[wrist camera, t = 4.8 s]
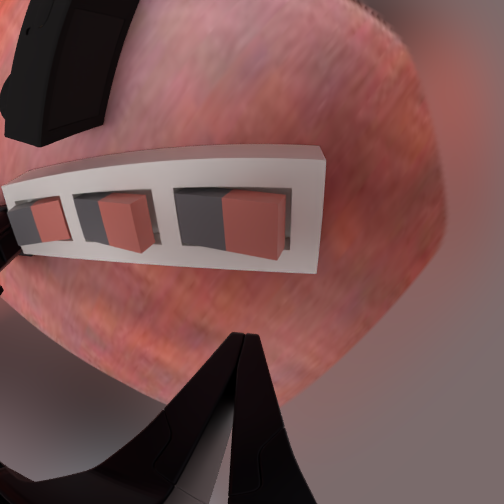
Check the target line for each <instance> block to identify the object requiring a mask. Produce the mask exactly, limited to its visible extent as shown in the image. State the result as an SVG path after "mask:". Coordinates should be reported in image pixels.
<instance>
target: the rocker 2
mask: <svg viewBox="0 0 504 504" xmlns="http://www.w3.org/2000/svg"><path fill="white" fill-rule="evenodd" d="M73 200H74V204H75V208H76V211H77V215H78V219H79V222H80V225H81V229H82V232H83V235H84V238H85V239H86V240H90V241H93V242H97V243H101V244H105V245H109V246H113V247H117V248H121V249H125V250H129V251H133V252H137V253H141V254H142V253H143V252H144V251H145V250H147V249H148V248H149V247H150V246H151V245H153V244H154V243H155V239H154V234H153V230H152V225H151V220H150V215H149V210H148V204H147V199H146V195H140V194H126V193H111V192H91V193H83V194H81V195H79V196H78V197H76V198H74V199H73Z"/></svg>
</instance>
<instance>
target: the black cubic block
mask: <svg viewBox="0 0 504 504" xmlns="http://www.w3.org/2000/svg"><path fill="white" fill-rule="evenodd" d="M139 1H140V0H31V1H30V3H29V6H28V9H27V12H26V15H25V18H24V21H23V25H22V28H21V31H20V35H19V39H18V43H17V47H16V51H15V55H14V60H13V65H12V70H11V74H10V75H9V77H8V78H7V79H6V81H5V83H4V85H3V87H2V90H1V93H0V112H1V114H2V116H3V118H4V119H5V134H4V135H5V137H7V138H11V139H14V140H17V141H20V142H24V143H27V144H30V145H33V146H36V147H43V146H46V145H49V144H51V143H54V142H56V141H59V140H61V139H64V138H66V137H69V136H72V135H74V134H77V133H80V132H83V131H86V130H88V129H91V128H94V127H97V126H101V125H103V123H104V117H105V112H106V107H107V103H108V98H109V94H110V90H111V86H112V82H113V78H114V74H115V70H116V67H117V63H118V60H119V56H120V53H121V50H122V47H123V44H124V41H125V38H126V35H127V32H128V29H129V26H130V23H131V21H132V18H133V15H134V13H135V10H136V8H137V5H138V3H139Z"/></svg>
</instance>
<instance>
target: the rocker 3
mask: <svg viewBox="0 0 504 504" xmlns="http://www.w3.org/2000/svg"><path fill="white" fill-rule="evenodd" d="M175 200H176V206H177V213H178V219H179V226H180V232H181V238H182V243H187V244H192V245H197V246H202V247H208V248H213V249H218V250H223V251H229V252H234V253H239V254H244V255H250V256H255V257H260V258H266V259H271V260H276V261H277V260H278V258H279V257H280V255H281V253H282V251H283V249H284V248H285V211H286V195H283V194H275V193H266V192H257V191H248V190H238V189H227V188H216V187H185V188H183V189H181V190H180V191H178V192H176V193H175Z"/></svg>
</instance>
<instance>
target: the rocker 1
mask: <svg viewBox="0 0 504 504" xmlns="http://www.w3.org/2000/svg"><path fill="white" fill-rule="evenodd" d="M7 214H8V217H9V220H10V223H11V226H12V229H13V232H14V235H15V237H16V240H17V243H18V245H19V246H23V245H30V244H36V243H43V242H50V241H57V240H65V239H70V238H71V237H72V236H71V233H70V230H69V227H68V223H67V220H66V217H65V213H64V210H63V206H62V203H61V199H60V196H52V197H47V198H43V199H39V200H35V201H31V202H27V203H23V204H19V205H15V206H14V207H13V208H12V209H10V210H9V211H8V212H7Z"/></svg>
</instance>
